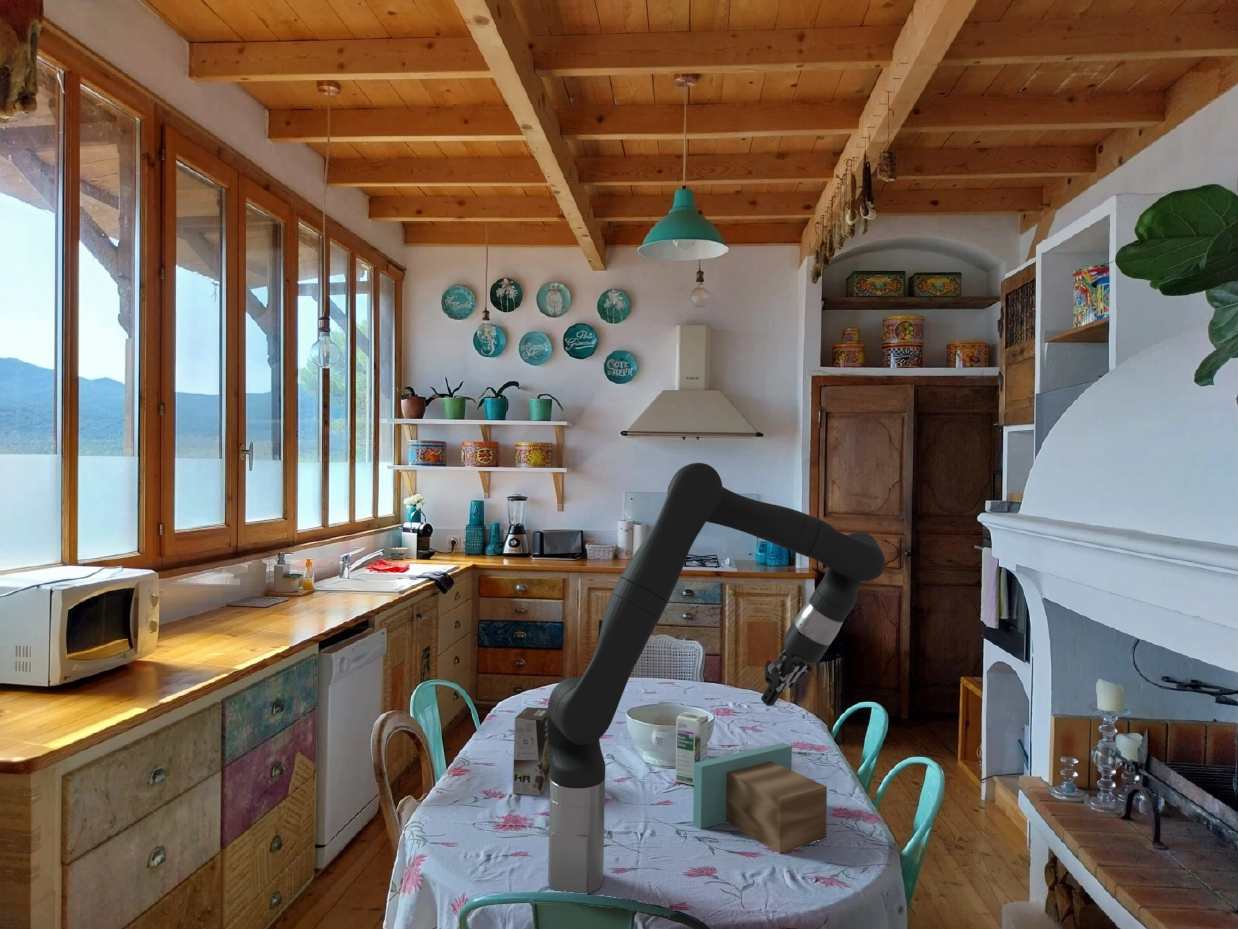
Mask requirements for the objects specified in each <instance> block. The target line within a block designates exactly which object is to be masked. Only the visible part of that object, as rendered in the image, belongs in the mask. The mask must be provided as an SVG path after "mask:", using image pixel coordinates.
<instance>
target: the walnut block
mask: <svg viewBox="0 0 1238 929" xmlns="http://www.w3.org/2000/svg"><path fill="white" fill-rule="evenodd" d="M827 795H828V786H826V785H824V784H823V783H820V782H818V781H816V780H813V779H811V778H809V777H807V776H804V775H802V774H800V773H798V772H796V771H794V770H793V769H791V770H789V769H787V768H785V767H783V766H781V765H778V764H776V763H774V762H772V761H771V762H767V763H763V764H759V765H755V766H751V767H746V768H742V769H738V770H734V771H730V772H727V788H726V822H727V823H726V822H725V823H726V824H727V825H729V826H731V827H733V828H735V829H736V828H737V829H736V830H738V831H739V832H741V833H744V834H745V835H747V837H750V838H752V839H754V840H755V841H757V842H758V841H759V842H758V843H760V844H761V845H764V846H765V847H767V846H768V847H767V848H769V847H770V848H771V850H772V849H773V850H772V851H773V852H775V851H776V852H775V853H777V852H779V853H781V854H783V853H782V852H784V853H787V852H790V851H793V850H792V849H794V850H796V849H795V848H797V849H799V848H798V847H800V846H803V847H805V846H804V845H806V846H808V845H807V844H809V845H811V844H810V843H812V842H814V841H817V840H821V841H823V840H822V839H824V838H826V839H827V808H828V806H827V803H828V802H827V801H828V799H827V798H828V796H827ZM824 840H825V839H824ZM812 844H813V843H812ZM770 848H769V849H770ZM800 848H801V847H800ZM789 850H790V851H789ZM779 853H778V854H779Z"/></svg>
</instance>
